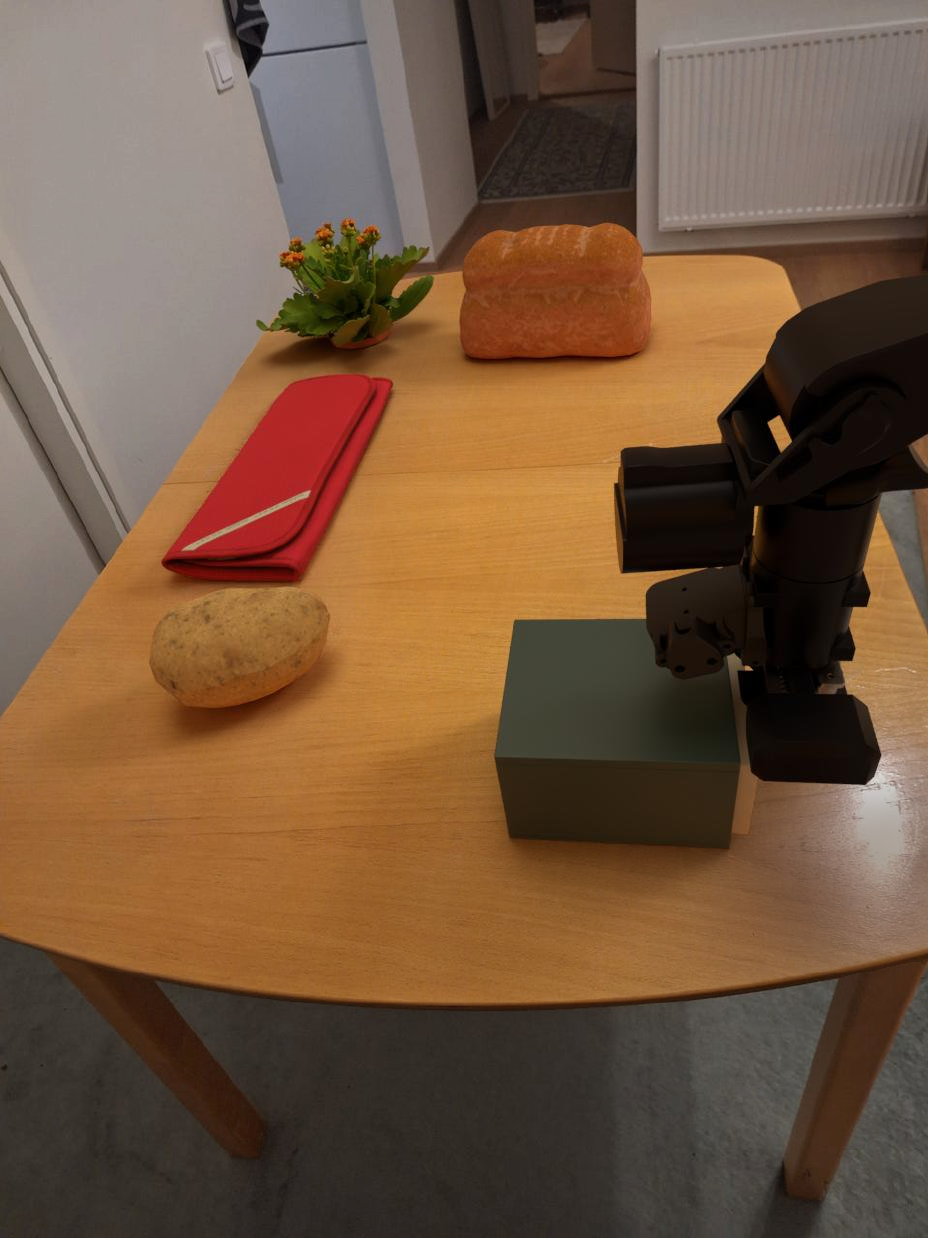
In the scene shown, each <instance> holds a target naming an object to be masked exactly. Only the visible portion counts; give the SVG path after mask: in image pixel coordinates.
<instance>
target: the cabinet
mask: <svg viewBox="0 0 928 1238" xmlns="http://www.w3.org/2000/svg"><path fill="white" fill-rule="evenodd" d="M510 638H511V639H510V646H509V651H508V652H509V653H508V659H507V667H506V673H505V681H504V687H503V693H502V694H503V695H502V699H501V707H500V715H499V721H498V727H497V735H496V742H495V749H494V755H493V757H494V758H493V759H494V764H495V769H496V774H497V780H498V785H499V790H500V796H501V801H502V806H503V811H504V816H505V817H504V818H505V822H506V827H507V831H508V832H507V833H508V837H509V839H517V840H518V839H519V840H538V841H540V840H541V841H561V842H562V841H563V842H582V843H602V844H619V845H620V844H621V845H622V844H625V845H645V846H663V847H664V846H666V847H685V848H705V849H709V848H710V849H724V850H725V849H726V850H727V849H730V845H731V837H732V833H731V832H732V824H733V817H734V810H735V803H736V795H737V788H738V781H739V774H740V766H741V761H740V754H739V746H738V738H737V730H736V723H735V715H734V707H733V699H732V692H731V684H730V676H729V668H728V661H727V656H726V657H724V658H723V659H724V667H723V668H722V669H721V670H720V671H719V672H717V673H713V674H708V675H704V676H699V677H695V678H690V679H686V680H682V679H679V678H676V677H674V676H673V675H672V673H671V671H670V669H668V668H666V667H664V668H663V667H659V666H657V665H656V663H655V647H654V644H653V642H652V639H651V637H650V635H649V633H648V631H647V628H646V618H559V619H558V618H554V619H553V618H551V619H550V618H545V619H544V618H543V619H539V618H538V619H514V620H513V625H512V631H511V637H510Z"/></svg>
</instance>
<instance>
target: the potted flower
mask: <svg viewBox="0 0 928 1238" xmlns="http://www.w3.org/2000/svg"><path fill="white" fill-rule="evenodd" d="M339 224H340V229H339V230H340V231H339V232H340V234H341V235H342V236H341V238H340V241H339V242H338V243H339V244H338V243H336V245H335V240H334V236H335V233H336V230H335V229H334V228H333V227H332V222H323V223H321V225H319V227H318V229H316V230H315V232H314V235H315V237H313V238H312V239H310V242H302V238H300V237H295V238H291V239H290V241H289V244H288V251H286V250H285V251H283V252H281V253H280V254H279V255H278V257H279V260H280V261H279V267H280V268H286V269H287V270H288V271H290V272H291V274H292V277H293V278H294V280H295V282H296V284H297V285H298V287H299V288H300V289H298V288H296V287H295V286H292V288H293V289H294V290H295V291H296V292H295V291H294V292H293V294H292V298H290V297H286V299H285V301H283V303H282V304H281V307H282V309H280V310H278V312H277V313H278V317H275V319H273V322H271V323H270V326H269V327H268V326H267V325H266V324H265V323H264V322H263V321H262V320H260V319H256V321H255V326H256V327H257V328H258V329H259V330H261V331H262V332H267V331H269V332H271V333H273V332H279V331H284V333H292V334H297V336H298V337H300V338H312V337H313V338H314V337H322V336H324V337H327V336H328V337H329V340H330V343H332V346H334V347H336V348H337V349H345V350H356V349H362V348H367V347H371V346H374V345H376V344H379V343H381V342H382V341H384V340H386V339H387V338H388V337H389V336H390V335H391V332H392V327H393V326H394V325H393V324H394V322H397V321H400V320H401V319H403V318H405V317H407V316H408V315H409V314H411V313H412V312H413V311H414V310H415V309H416V308H417V307H418V306H419V305H420V304H421V303H422V302H423V300H424V299H425V298H426V297H427V296H428V294H429V293H430V291H431V289H432V288H433V286H434V281H435V277H434V276H433V275H431V274H428V275H426V276H422V277H420V278H418V280H414V282H413V283H412V284H410V285H408V286H407V287H406V289H404V290H403V291H402V292H401V294H399V296H398V297H394V296H393V291H394V289H395V287H396V286H397V285H398V283H399V282H400V281H401V280H402V279H403V278H404V277H405V276H406V274H408V272H409V271H410V270H412V269H413V268H414V267H415V266H416V265H417V264H418V263H420V262H421V261H422V260H423V259H425V257H427V256H428V255H429V251H430V249H431V248H430V246H427V247H422V246H420V247H419V248H418V249H417V246H416V245H413V244H411V245H409V247H407V246H406V245H405V246H404V247H403V249H402V253H401V256H400V254H399V255H398V254H396V255H394V256H393V257H392V259H391V257H390V255H389V254H388V253H385V254H384V255H383V257H382V258H381V257H380V254H379V252H378V251H377V252H375V251H374V250H375V249H374V248H375V247H374V246H377V242H379V241H380V240H381V239H382V235H380V234H381V232H380V229H379V227H378V226H376V225H375V224H371V225H369V226H366V227H364V230H363V232H361V230H360V229H357V226H356V221H355V220H354V219H352V218H351V219H350V218H345V219H344V220H342V221H341V222H340V223H339ZM322 225H323V226H322ZM370 254H371V261H370V259H369V258H370ZM369 265H370V266H369ZM300 282H301V283H302V284H303V285H304V286H305V287H307V289H308V290H305V289H304V287H303V285H302V284H301V283H300ZM300 290H301V291H300Z"/></svg>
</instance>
